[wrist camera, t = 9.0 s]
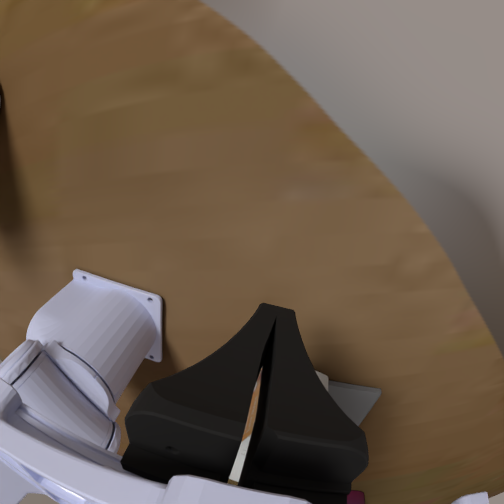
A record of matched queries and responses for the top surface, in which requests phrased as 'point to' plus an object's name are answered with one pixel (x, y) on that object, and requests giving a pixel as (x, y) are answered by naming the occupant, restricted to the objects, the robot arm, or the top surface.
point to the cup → (355, 498)
